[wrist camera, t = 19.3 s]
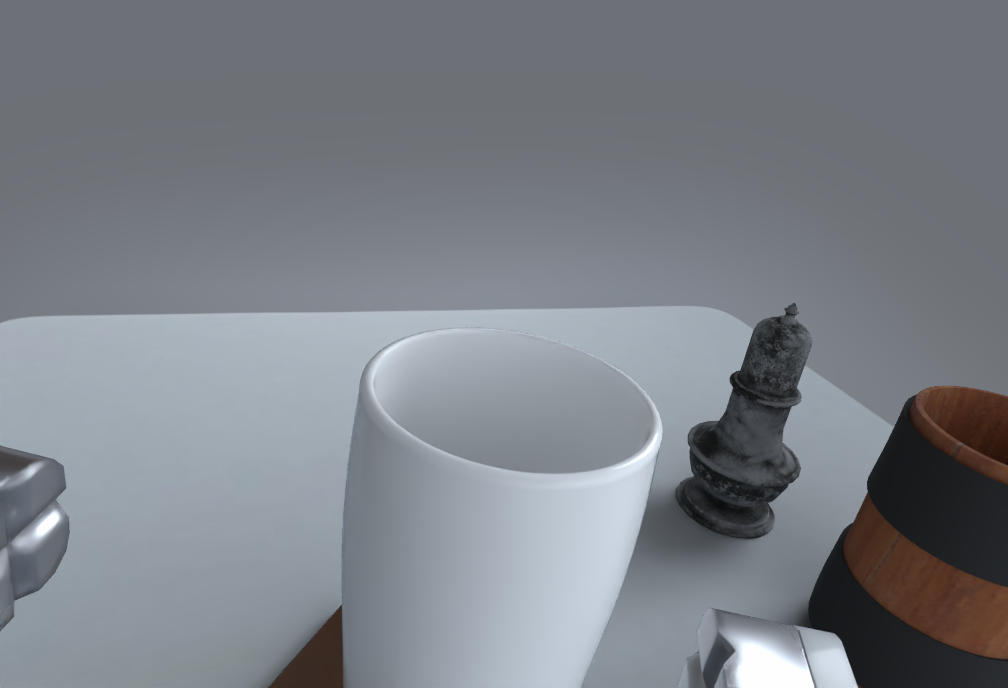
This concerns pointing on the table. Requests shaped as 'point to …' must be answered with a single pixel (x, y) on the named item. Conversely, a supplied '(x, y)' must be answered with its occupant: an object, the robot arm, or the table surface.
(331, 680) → the walnut board
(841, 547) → the mug
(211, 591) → the table surface
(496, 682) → the drinking glass
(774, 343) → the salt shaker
